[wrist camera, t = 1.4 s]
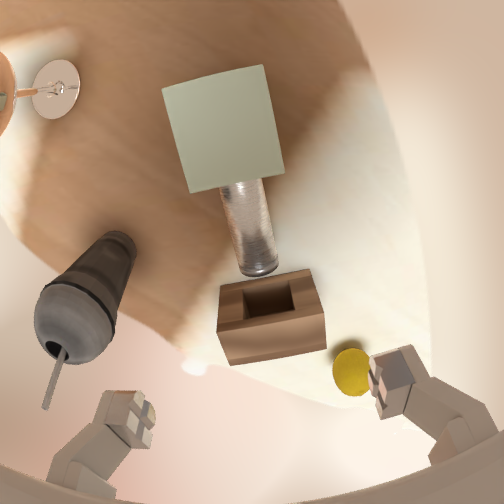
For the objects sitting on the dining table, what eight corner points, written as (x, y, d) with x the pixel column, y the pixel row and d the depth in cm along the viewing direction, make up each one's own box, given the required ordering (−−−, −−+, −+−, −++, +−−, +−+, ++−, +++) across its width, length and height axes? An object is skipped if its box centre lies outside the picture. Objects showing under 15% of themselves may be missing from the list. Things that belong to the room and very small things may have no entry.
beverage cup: (133, 211, 30) (32, 358, 12) (158, 270, 33) (102, 432, 16) (79, 229, 30) (-26, 359, 13) (106, 282, 34) (36, 424, 16)
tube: (198, 94, 23) (191, 95, 20) (241, 84, 23) (241, 83, 19) (240, 259, 31) (240, 280, 27) (276, 252, 30) (280, 272, 27)
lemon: (338, 333, 39) (353, 380, 32) (371, 339, 40) (389, 382, 33) (320, 360, 41) (331, 406, 34) (352, 364, 42) (366, 407, 35)
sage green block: (180, 89, 24) (161, 88, 18) (257, 71, 24) (262, 64, 18) (201, 170, 28) (190, 193, 22) (275, 154, 28) (285, 173, 22)
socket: (220, 285, 34) (216, 332, 28) (309, 268, 34) (324, 312, 27) (231, 318, 37) (229, 365, 30) (313, 303, 36) (326, 348, 30)
